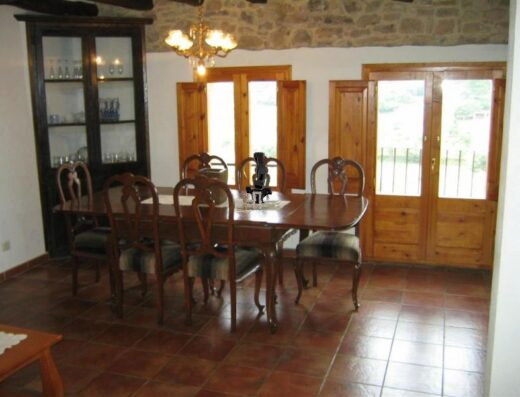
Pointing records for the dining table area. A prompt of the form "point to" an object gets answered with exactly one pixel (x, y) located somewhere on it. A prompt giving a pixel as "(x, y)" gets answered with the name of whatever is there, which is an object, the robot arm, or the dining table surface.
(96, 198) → the dining table surface
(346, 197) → the dining table surface
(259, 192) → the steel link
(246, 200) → the birch stand
